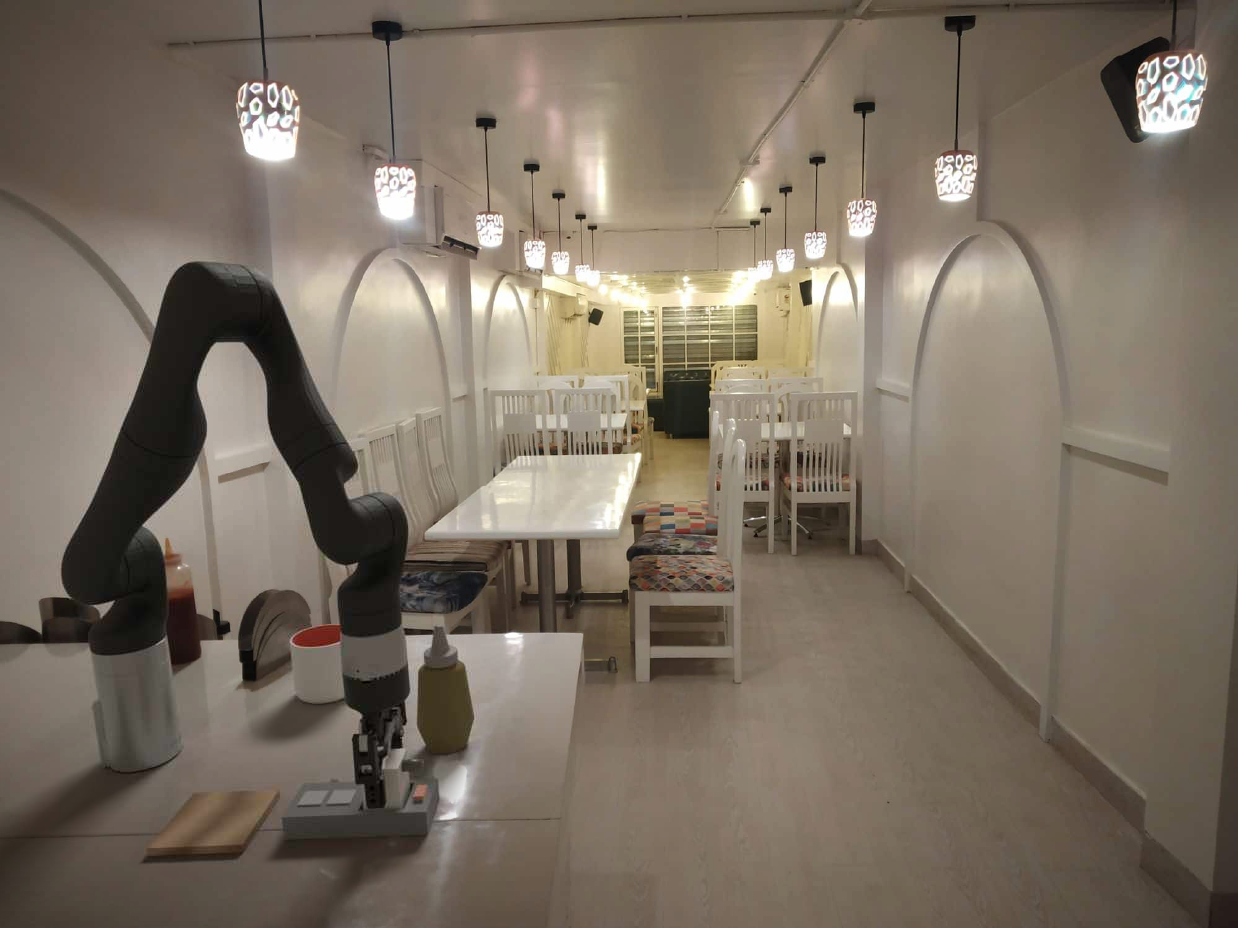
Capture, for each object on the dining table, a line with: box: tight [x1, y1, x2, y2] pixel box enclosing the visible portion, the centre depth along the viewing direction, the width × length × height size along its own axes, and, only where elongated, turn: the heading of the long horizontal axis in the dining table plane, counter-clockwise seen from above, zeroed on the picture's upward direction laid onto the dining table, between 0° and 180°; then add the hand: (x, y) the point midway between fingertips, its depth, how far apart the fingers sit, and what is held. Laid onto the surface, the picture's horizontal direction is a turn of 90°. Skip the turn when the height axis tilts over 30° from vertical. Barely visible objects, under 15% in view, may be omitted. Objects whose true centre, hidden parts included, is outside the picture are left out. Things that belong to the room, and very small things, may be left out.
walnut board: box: [146, 789, 281, 857], centre depth 100 cm, size 11×11×1 cm
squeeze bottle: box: [416, 624, 475, 755], centre depth 116 cm, size 8×8×18 cm
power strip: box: [281, 777, 440, 841], centre depth 102 cm, size 17×11×4 cm, turn 91°
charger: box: [361, 748, 425, 810], centre depth 100 cm, size 7×4×7 cm, turn 91°
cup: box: [289, 623, 345, 705], centre depth 134 cm, size 10×10×10 cm
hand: (386, 785), depth 100 cm, fingers open, 8 cm apart
